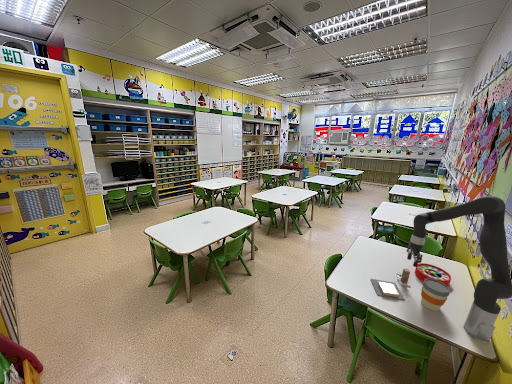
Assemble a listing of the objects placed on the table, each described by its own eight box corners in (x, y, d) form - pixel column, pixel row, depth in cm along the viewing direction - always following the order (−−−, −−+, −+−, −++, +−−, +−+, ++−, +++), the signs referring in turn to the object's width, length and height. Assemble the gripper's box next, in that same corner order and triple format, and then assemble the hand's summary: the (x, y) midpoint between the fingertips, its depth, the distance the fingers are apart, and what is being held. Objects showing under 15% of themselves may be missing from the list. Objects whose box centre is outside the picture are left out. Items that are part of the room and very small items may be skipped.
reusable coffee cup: (444, 317, 120) (452, 296, 116) (418, 306, 127) (424, 286, 122) (441, 303, 130) (448, 283, 126) (417, 294, 137) (422, 275, 132)
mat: (404, 300, 131) (405, 299, 131) (377, 295, 135) (377, 294, 135) (394, 283, 146) (395, 282, 146) (370, 279, 150) (370, 278, 150)
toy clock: (410, 261, 162) (439, 264, 159) (409, 268, 164) (437, 271, 161) (426, 278, 143) (459, 282, 140) (424, 285, 145) (456, 289, 142)
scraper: (410, 286, 143) (413, 273, 140) (400, 285, 145) (404, 272, 142) (406, 281, 149) (409, 268, 146) (397, 279, 150) (400, 266, 147)
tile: (392, 286, 142) (398, 297, 133) (378, 284, 144) (383, 295, 135) (393, 284, 141) (399, 294, 132) (378, 281, 143) (383, 292, 134)
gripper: (429, 248, 130) (423, 270, 134) (418, 237, 143) (412, 257, 147) (416, 246, 131) (410, 268, 135) (406, 236, 145) (401, 256, 149)
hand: (411, 262), depth 141 cm, fingers open, 8 cm apart
